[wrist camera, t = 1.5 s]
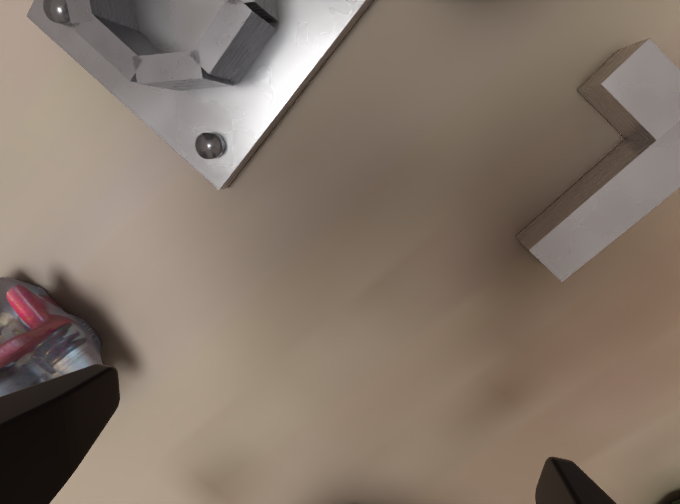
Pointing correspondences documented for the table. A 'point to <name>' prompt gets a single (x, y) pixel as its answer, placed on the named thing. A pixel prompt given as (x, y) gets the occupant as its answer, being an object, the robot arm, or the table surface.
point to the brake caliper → (40, 338)
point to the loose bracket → (617, 161)
